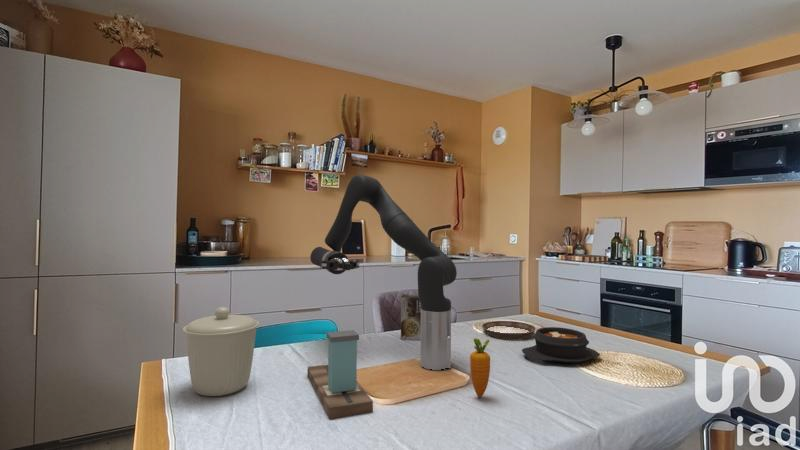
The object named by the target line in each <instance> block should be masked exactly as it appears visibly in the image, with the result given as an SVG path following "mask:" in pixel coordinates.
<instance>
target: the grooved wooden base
mask: <svg viewBox="0 0 800 450" xmlns="http://www.w3.org/2000/svg"><path fill="white" fill-rule="evenodd" d="M306 375H307V378H308V380H309V382H310V383H311V385H312V388H313V389H314V392H315V393H316V396H317V397H318V400H319V402H320V404H321V405H322V407H323V410H324V412H325V413H326V414H325V415H326V416H327V417H328V419H329V420H334V419H340V418H346V417H351V416H359V415H364V414H368V413H369V414H370V413H373V412H374V400H373V399H372V398H371V397H370V395H369V394H368V393H367V392H366V390H365V389H364V388H363V387H362V386H361V384H360V383H359V382H358V380H357V381H356V390H349V391H343V392H336V393H331V391H330V389H329V388H328V364H322V365H314V366H307V374H306Z"/></svg>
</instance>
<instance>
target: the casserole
mask: <svg viewBox="0 0 800 450" xmlns="http://www.w3.org/2000/svg"><path fill="white" fill-rule="evenodd" d="M532 337H533V339H534V340H535V345H533V346H527V347H524V348H522V349H521V352H522V354H524V355H526V356H527V357H530V358H532V359H534V360H537V361H539V360H540V361H549V362H552V363H553V362H554V363H559V364H575V363H580V362H581V363H582V362H587V361H588V360H589V361H590V360H591V359H593V358H594V359H595V358H598V357H600V356H601V354H600V352H598V351H597V350H595V349H593V348H590V347H587V346H589V344H590V341H589V340H588V338H587V335H586V334H585V333H584V332H582V331H579V330H575V329H572V328H566V327H555V326H551V327H541V328H536V330H535V334H533V336H532Z"/></svg>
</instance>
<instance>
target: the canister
mask: <svg viewBox="0 0 800 450" xmlns="http://www.w3.org/2000/svg"><path fill="white" fill-rule="evenodd" d="M259 325H260V322H259V320H256V319H254V317H252V316H249V315H243V314H231V313H230V309H229V307H226V306H219V307H218V308H216V309H215V311H214V315H211V316H210V315H208V316H205V317H201V318H197V319H195V320H193V321H191V322H189V323H188V324H186V325H185V326H183V327H182V332H183V333H184V334H185V342H186V343H185V344H186V349H187V350H186V351H187V359H188V367H189V368H188V369H189V374H190V375H189V376H190V381H191V385H192V388H193V391H195V392H196V393H197V394H199V395H201V396H204V397H221V396H223V397H224V396H227V395H230V394H231V395H232V394H234V393H237V392H239V391H241V390H243V389H244V388H245V387H246V386H247V385H248V383H249V380H250V377H251V373H252V366H253V358H254V349H255V345H256V344H255V342H256V334H257V328H258V327H259Z"/></svg>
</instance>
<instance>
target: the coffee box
mask: <svg viewBox="0 0 800 450" xmlns="http://www.w3.org/2000/svg"><path fill="white" fill-rule="evenodd" d="M400 340H403V341H404V340H406V341H407V340H408V341H409V340H410V341H411V340H412V341H421V303H420V300H419V297H418V294H405V293H404V294H402V295H401V296H400Z"/></svg>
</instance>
